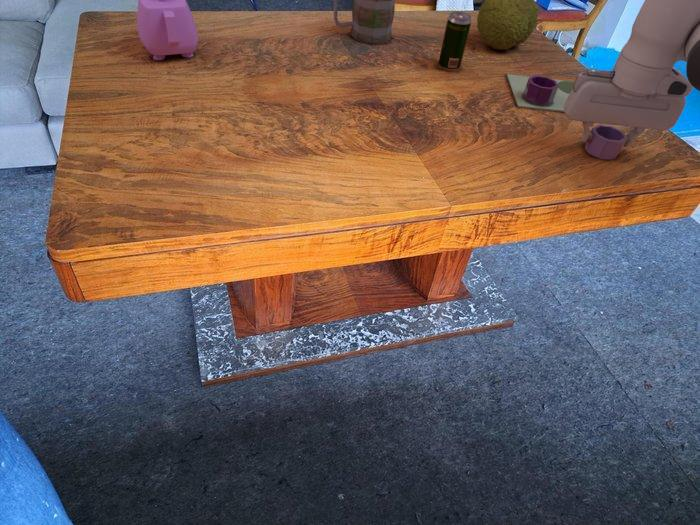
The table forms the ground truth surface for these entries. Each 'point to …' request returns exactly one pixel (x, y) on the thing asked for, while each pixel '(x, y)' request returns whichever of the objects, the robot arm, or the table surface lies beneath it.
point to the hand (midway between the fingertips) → (604, 142)
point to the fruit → (506, 22)
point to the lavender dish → (606, 142)
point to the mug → (370, 20)
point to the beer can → (454, 41)
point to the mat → (557, 104)
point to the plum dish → (540, 90)
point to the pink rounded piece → (166, 28)
